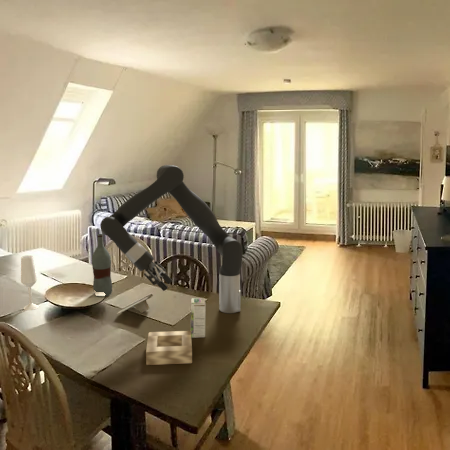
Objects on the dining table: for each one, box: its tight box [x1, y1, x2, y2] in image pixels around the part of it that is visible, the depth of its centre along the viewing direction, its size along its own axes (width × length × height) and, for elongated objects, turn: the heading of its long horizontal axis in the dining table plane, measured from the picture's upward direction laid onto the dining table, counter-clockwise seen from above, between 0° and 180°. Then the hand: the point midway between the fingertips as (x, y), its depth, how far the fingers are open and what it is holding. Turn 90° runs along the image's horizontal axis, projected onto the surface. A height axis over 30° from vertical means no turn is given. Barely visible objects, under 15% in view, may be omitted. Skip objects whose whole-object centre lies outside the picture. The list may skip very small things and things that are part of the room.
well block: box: [145, 330, 193, 366], centre depth 180 cm, size 16×16×5 cm
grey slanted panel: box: [116, 291, 154, 315], centre depth 217 cm, size 16×9×15 cm
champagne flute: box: [20, 255, 40, 311], centre depth 221 cm, size 7×7×24 cm
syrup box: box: [190, 297, 206, 339], centre depth 194 cm, size 6×6×14 cm
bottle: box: [91, 233, 113, 297], centre depth 237 cm, size 9×9×30 cm
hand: (168, 285), depth 193 cm, fingers open, 8 cm apart
